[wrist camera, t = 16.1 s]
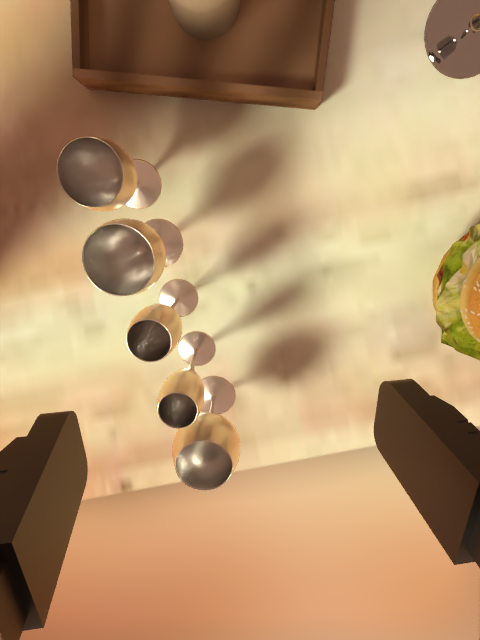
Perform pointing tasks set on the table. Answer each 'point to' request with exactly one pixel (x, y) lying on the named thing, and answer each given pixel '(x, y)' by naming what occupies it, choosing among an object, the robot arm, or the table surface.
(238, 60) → the serving tray
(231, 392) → the goblet set
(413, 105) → the table surface
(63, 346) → the table surface
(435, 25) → the wine glass
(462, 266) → the food
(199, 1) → the dome-topped cylinder
